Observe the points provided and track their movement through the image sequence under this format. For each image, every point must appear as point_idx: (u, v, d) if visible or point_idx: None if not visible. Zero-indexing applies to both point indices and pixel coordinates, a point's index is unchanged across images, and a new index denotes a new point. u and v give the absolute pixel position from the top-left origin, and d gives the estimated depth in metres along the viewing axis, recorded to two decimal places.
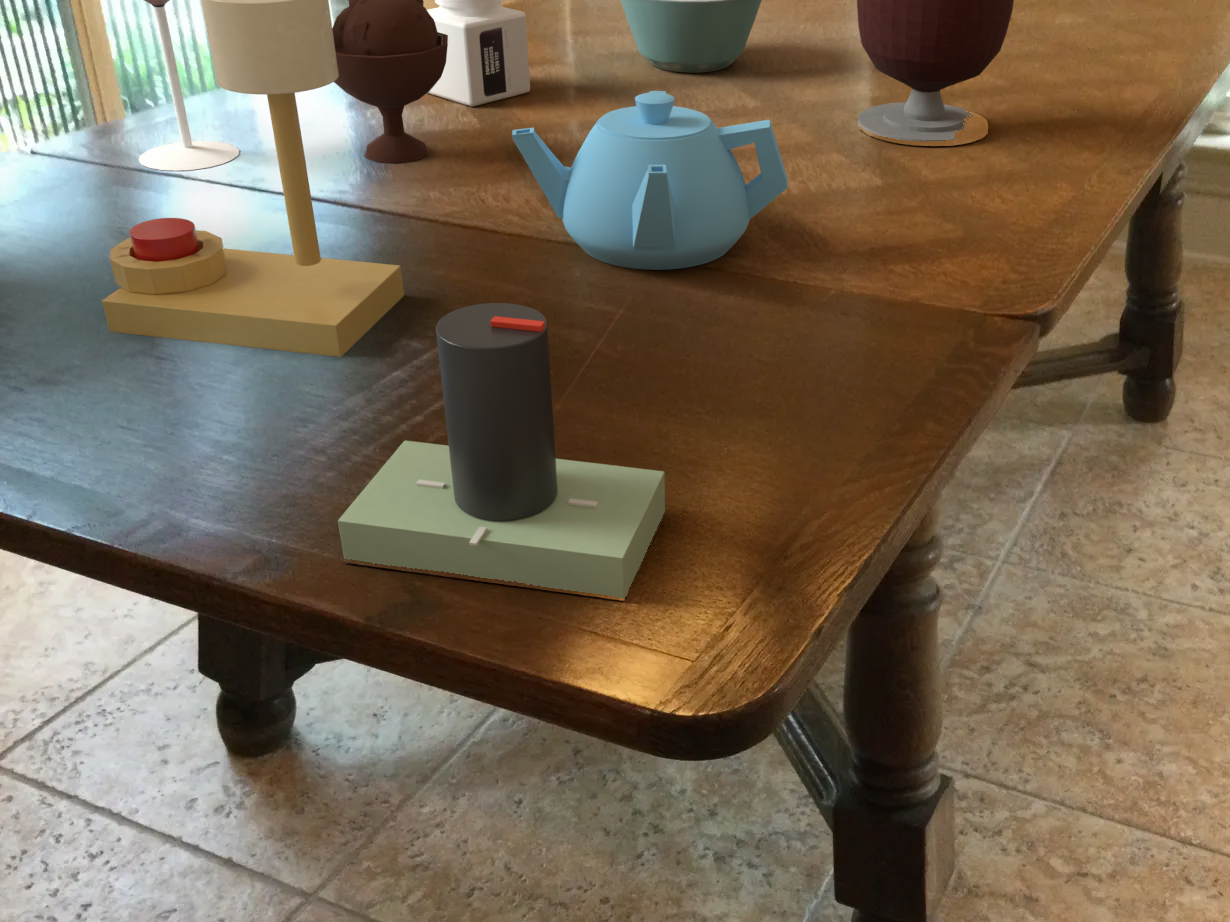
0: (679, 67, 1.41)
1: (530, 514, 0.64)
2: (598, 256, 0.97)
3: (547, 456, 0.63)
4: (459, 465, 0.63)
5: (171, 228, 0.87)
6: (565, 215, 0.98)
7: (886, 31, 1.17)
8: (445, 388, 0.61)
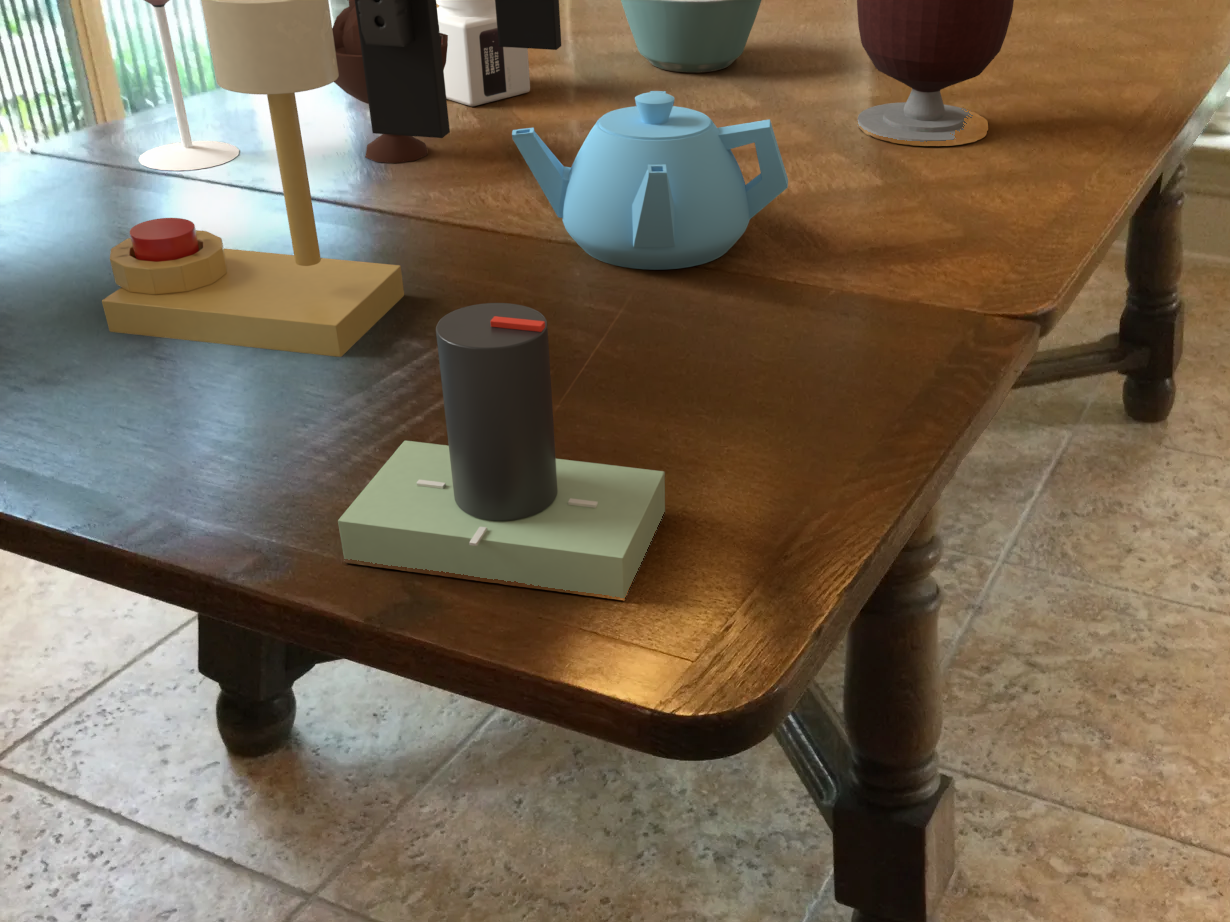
0: (679, 67, 1.41)
1: (530, 514, 0.64)
2: (598, 256, 0.97)
3: (547, 456, 0.63)
4: (459, 465, 0.63)
5: (171, 228, 0.87)
6: (565, 215, 0.98)
7: (886, 31, 1.17)
8: (445, 388, 0.61)
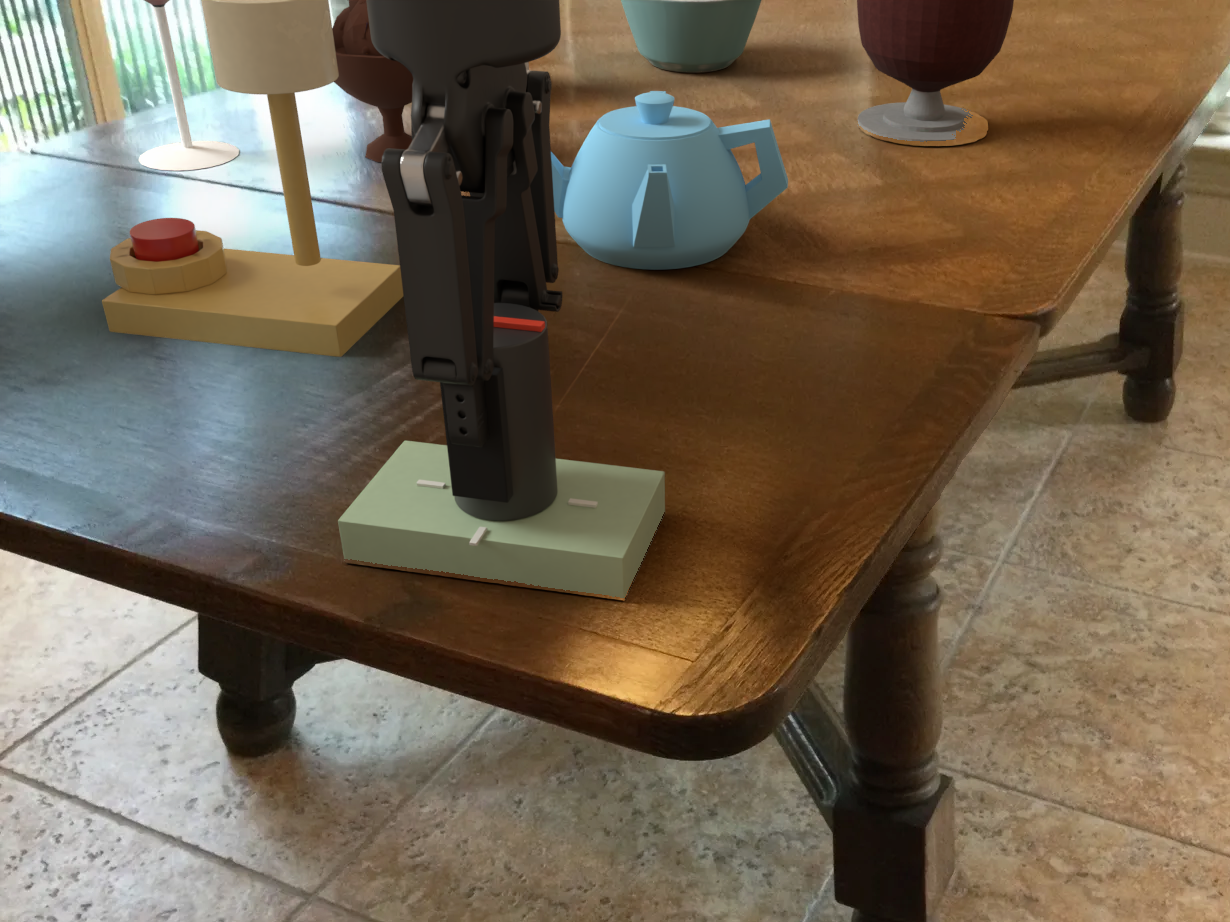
0: (679, 67, 1.41)
1: (530, 514, 0.64)
2: (598, 256, 0.97)
3: (547, 456, 0.63)
4: None
5: (171, 228, 0.87)
6: (565, 215, 0.98)
7: (886, 31, 1.17)
8: None
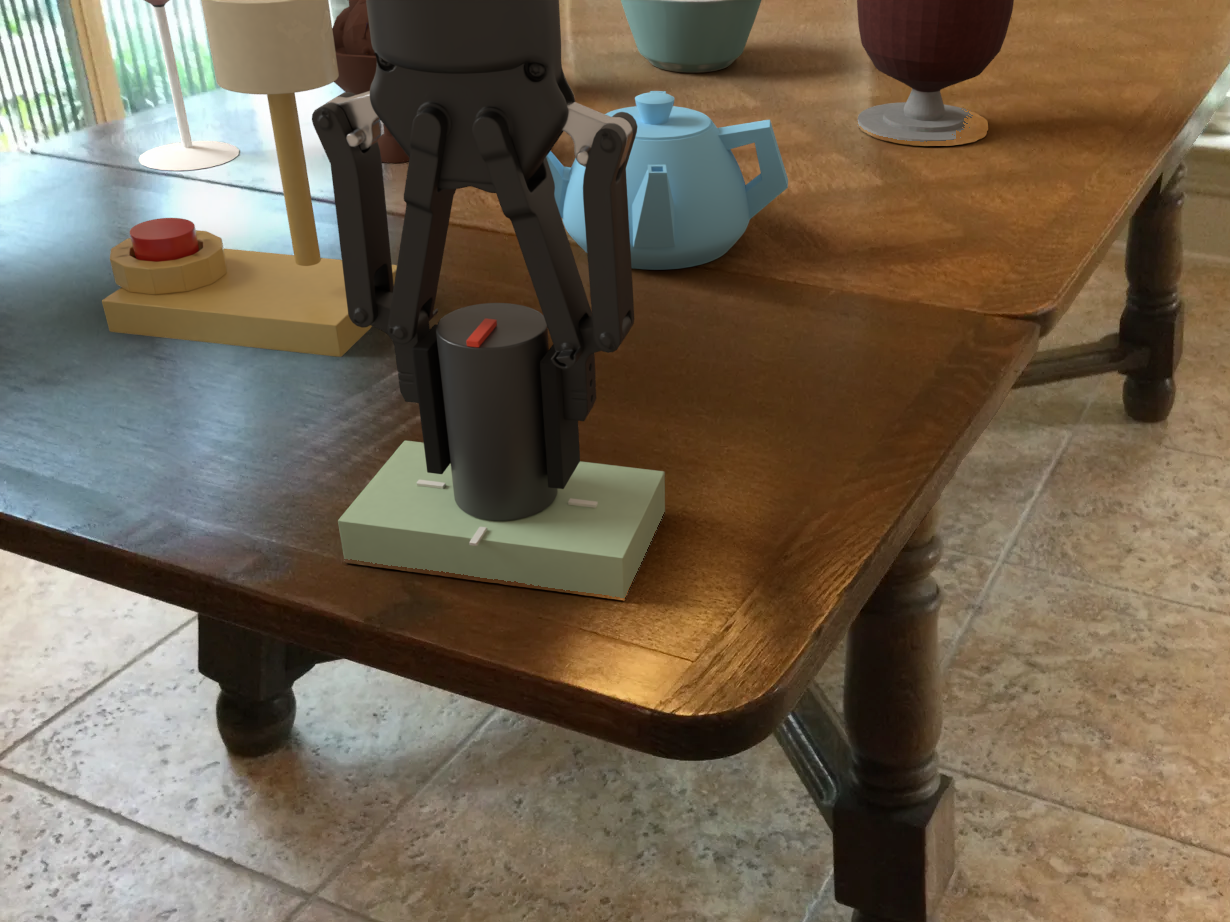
0: (679, 67, 1.41)
1: (459, 506, 0.64)
2: None
3: (473, 469, 0.62)
4: None
5: (171, 228, 0.87)
6: (565, 215, 0.98)
7: (886, 31, 1.17)
8: None
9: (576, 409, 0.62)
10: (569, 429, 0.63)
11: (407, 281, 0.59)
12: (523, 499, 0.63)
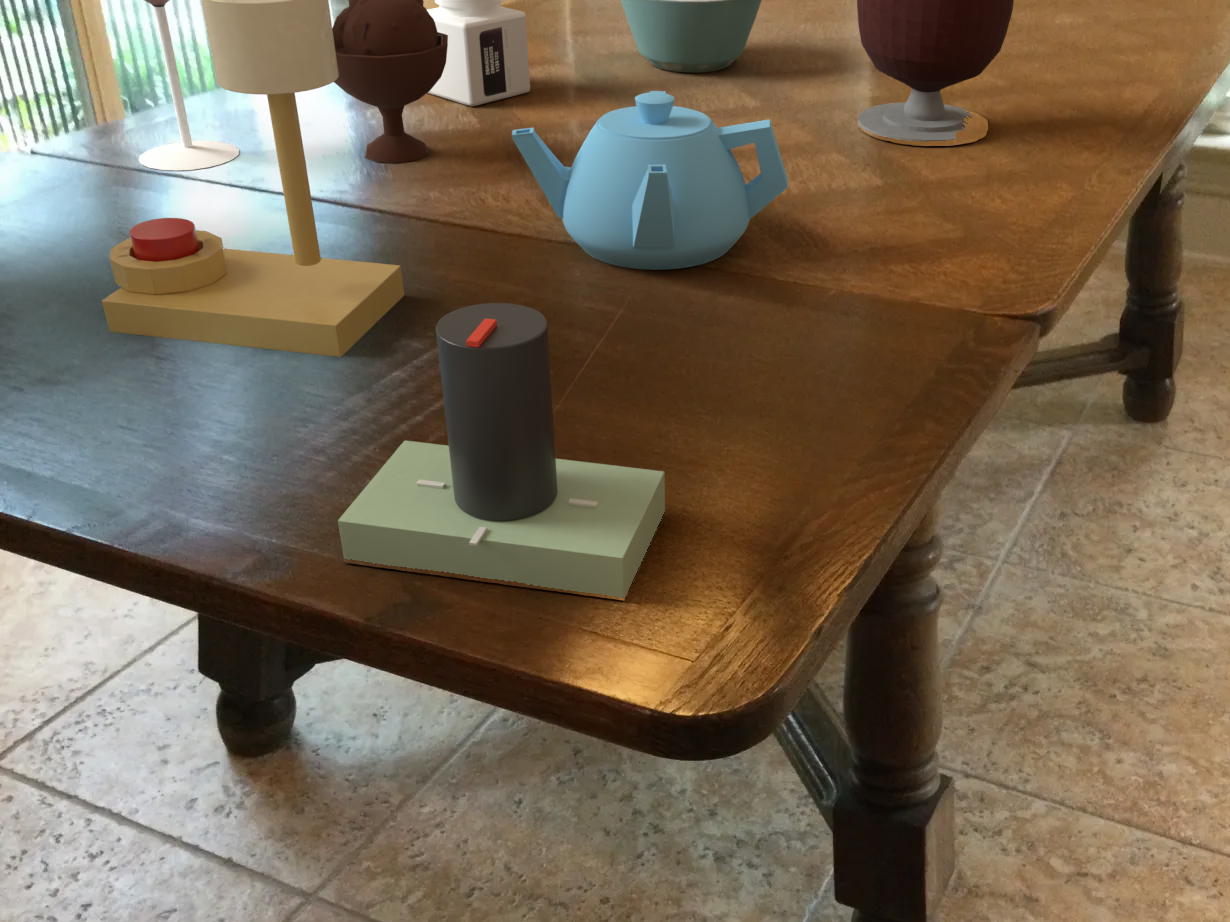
0: (679, 67, 1.41)
1: (459, 506, 0.64)
2: (598, 256, 0.97)
3: (473, 469, 0.62)
4: None
5: (171, 228, 0.87)
6: (565, 215, 0.98)
7: (886, 31, 1.17)
8: None
9: None
10: None
11: None
12: (523, 499, 0.63)
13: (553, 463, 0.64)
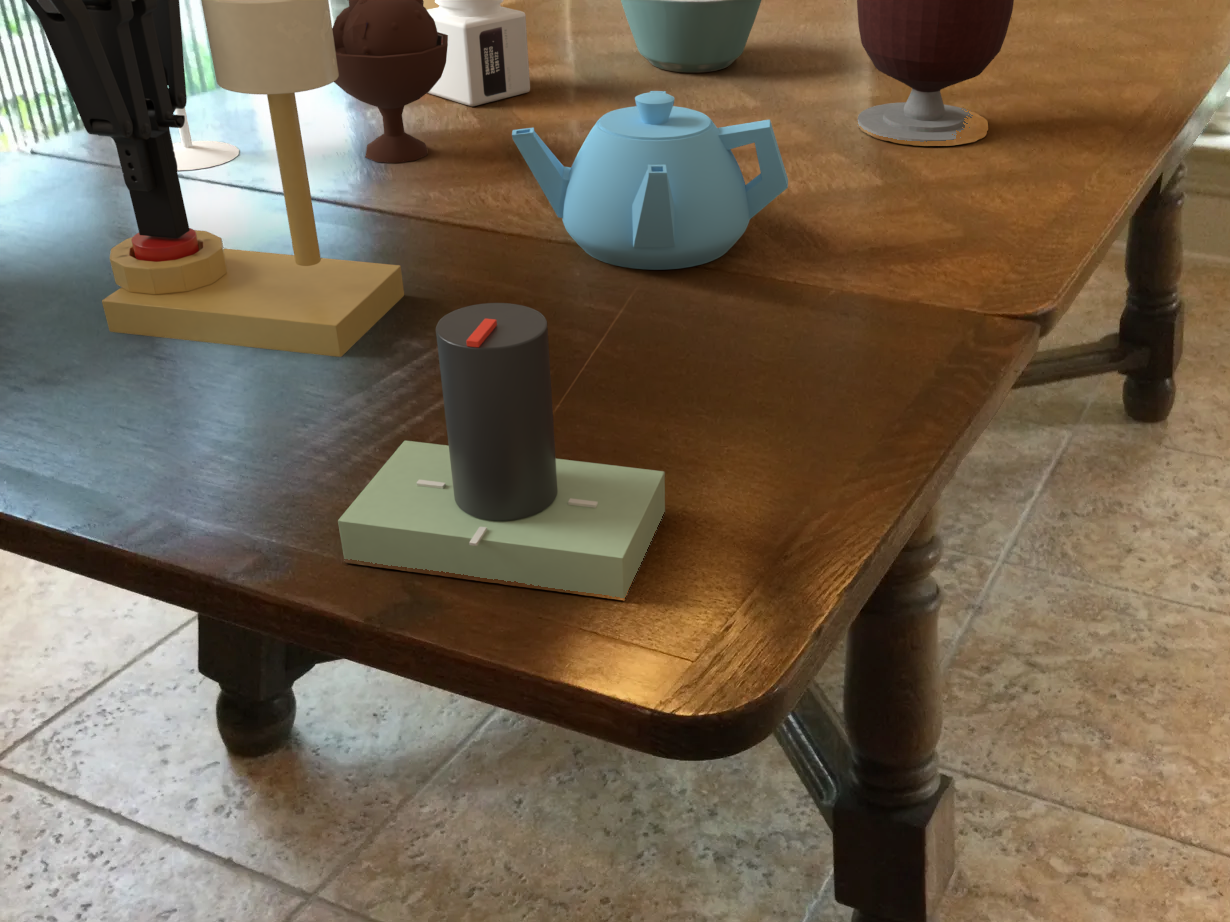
0: (679, 67, 1.41)
1: (459, 506, 0.64)
2: (598, 256, 0.97)
3: (473, 469, 0.62)
4: None
5: None
6: (565, 215, 0.98)
7: (886, 31, 1.17)
8: None
9: None
10: None
11: (135, 86, 0.81)
12: (523, 499, 0.63)
13: (553, 463, 0.64)
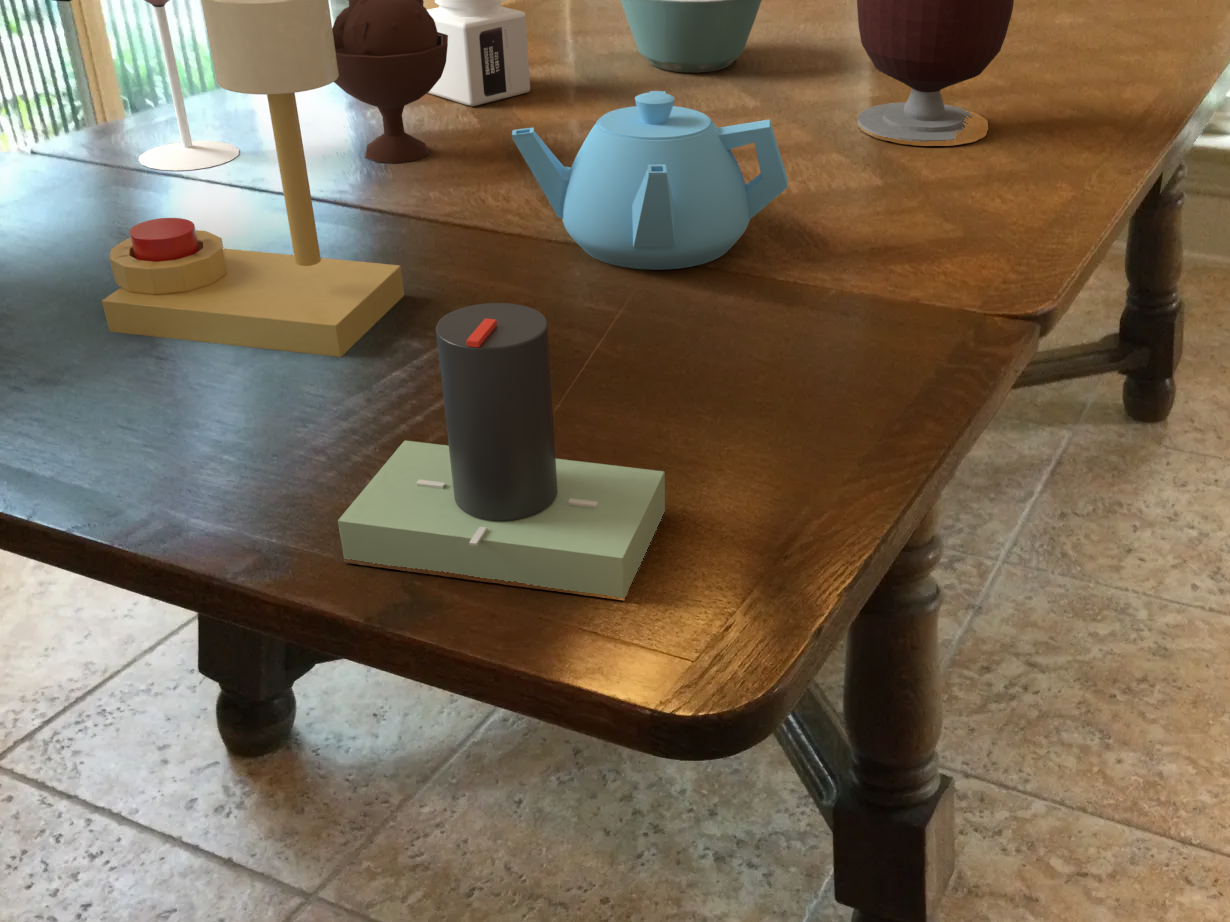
0: (679, 67, 1.41)
1: (459, 506, 0.64)
2: (598, 256, 0.97)
3: (473, 469, 0.62)
4: None
5: (171, 228, 0.87)
6: (565, 215, 0.98)
7: (886, 31, 1.17)
8: None
9: None
10: None
11: None
12: (523, 499, 0.63)
13: (553, 463, 0.64)
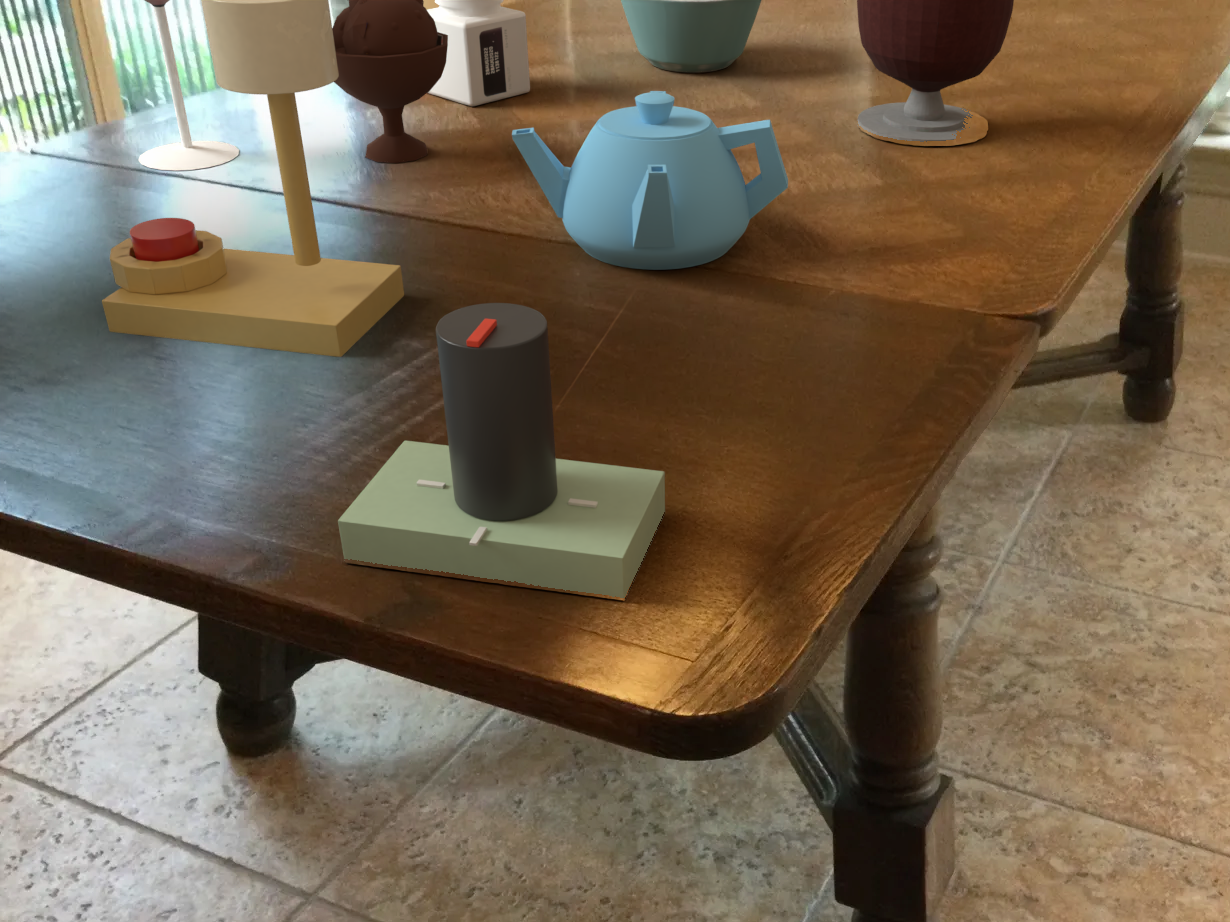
0: (679, 67, 1.41)
1: (459, 506, 0.64)
2: (598, 256, 0.97)
3: (473, 469, 0.62)
4: None
5: (171, 228, 0.87)
6: (565, 215, 0.98)
7: (886, 31, 1.17)
8: None
9: None
10: None
11: None
12: (523, 499, 0.63)
13: (553, 463, 0.64)
